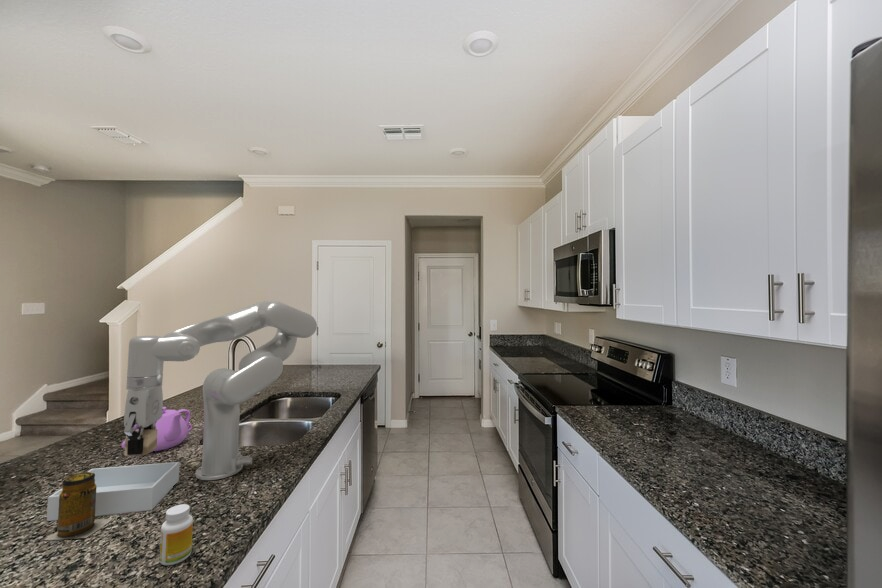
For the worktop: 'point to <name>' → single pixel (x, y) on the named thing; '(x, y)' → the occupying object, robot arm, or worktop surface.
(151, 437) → the cube
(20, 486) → the worktop surface
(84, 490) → the condiment
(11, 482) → the worktop surface
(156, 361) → the robot arm
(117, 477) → the tote
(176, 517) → the supplement bottle
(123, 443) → the teapot
